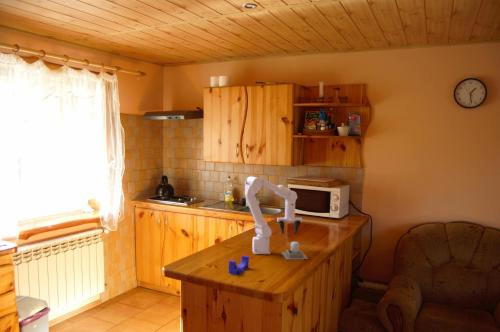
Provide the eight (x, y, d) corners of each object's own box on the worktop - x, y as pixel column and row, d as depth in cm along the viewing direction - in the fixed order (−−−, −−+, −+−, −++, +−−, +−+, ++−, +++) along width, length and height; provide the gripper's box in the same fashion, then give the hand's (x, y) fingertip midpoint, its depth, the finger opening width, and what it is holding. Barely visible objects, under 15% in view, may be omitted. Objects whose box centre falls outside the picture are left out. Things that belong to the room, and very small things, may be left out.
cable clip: (236, 275, 186) (236, 263, 186) (228, 273, 189) (229, 261, 188) (250, 268, 196) (251, 257, 196) (243, 266, 199) (244, 255, 198)
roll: (291, 256, 216) (291, 243, 215) (289, 254, 220) (290, 241, 220) (299, 256, 216) (299, 243, 215) (297, 254, 220) (298, 241, 220)
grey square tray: (286, 259, 211) (286, 255, 211) (281, 253, 223) (281, 248, 223) (307, 259, 213) (308, 254, 213) (301, 252, 225) (302, 248, 225)
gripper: (279, 212, 225) (278, 235, 226) (303, 212, 227) (302, 235, 228) (276, 209, 232) (275, 232, 233) (300, 209, 234) (299, 232, 235)
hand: (289, 233), depth 231 cm, fingers open, 7 cm apart
